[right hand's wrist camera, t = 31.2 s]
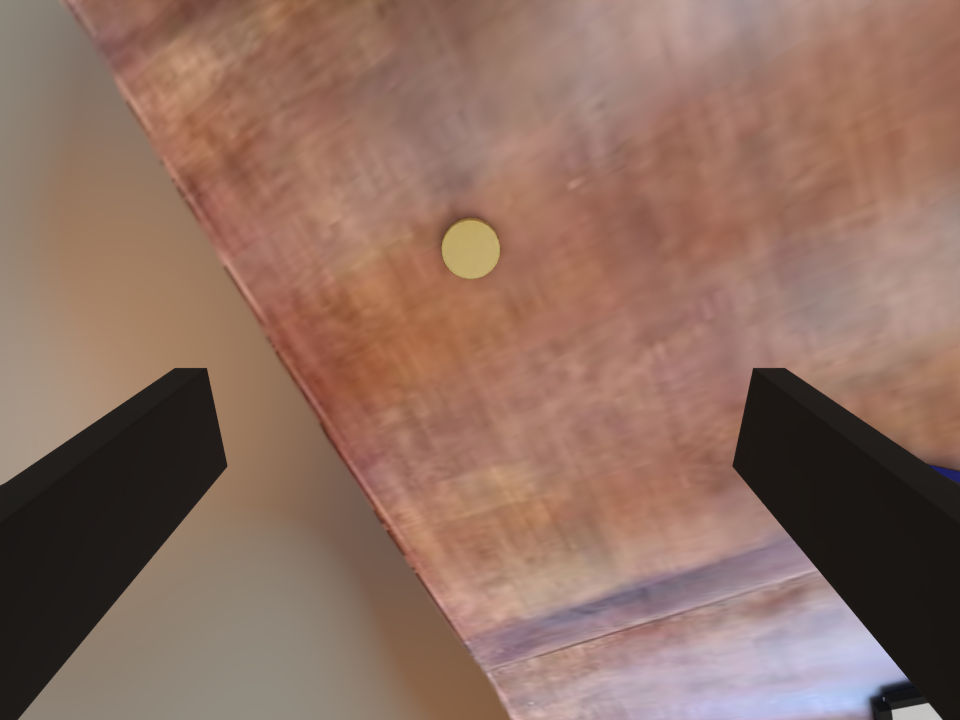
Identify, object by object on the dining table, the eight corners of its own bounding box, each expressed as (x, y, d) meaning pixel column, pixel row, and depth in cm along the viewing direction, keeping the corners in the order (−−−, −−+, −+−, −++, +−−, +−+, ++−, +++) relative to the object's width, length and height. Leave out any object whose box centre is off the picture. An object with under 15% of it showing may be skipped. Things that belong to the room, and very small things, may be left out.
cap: (499, 216, 38) (501, 219, 36) (499, 274, 39) (500, 279, 38) (441, 216, 38) (440, 219, 36) (443, 274, 39) (442, 280, 38)
